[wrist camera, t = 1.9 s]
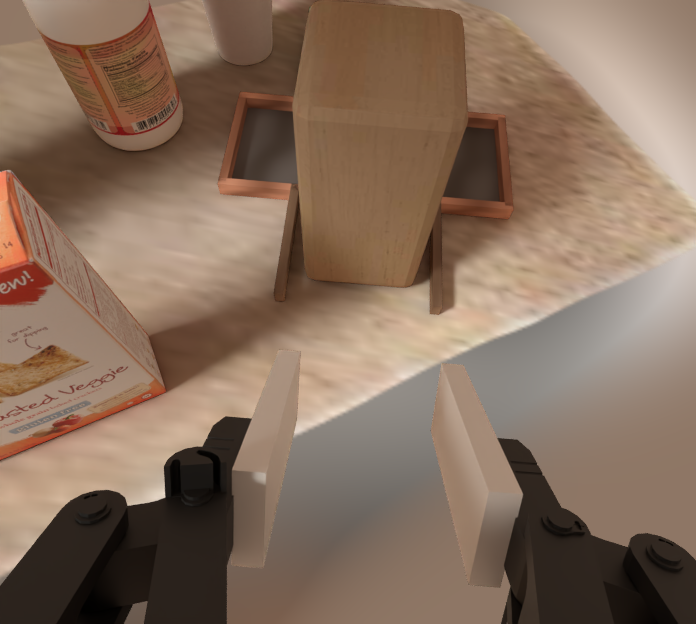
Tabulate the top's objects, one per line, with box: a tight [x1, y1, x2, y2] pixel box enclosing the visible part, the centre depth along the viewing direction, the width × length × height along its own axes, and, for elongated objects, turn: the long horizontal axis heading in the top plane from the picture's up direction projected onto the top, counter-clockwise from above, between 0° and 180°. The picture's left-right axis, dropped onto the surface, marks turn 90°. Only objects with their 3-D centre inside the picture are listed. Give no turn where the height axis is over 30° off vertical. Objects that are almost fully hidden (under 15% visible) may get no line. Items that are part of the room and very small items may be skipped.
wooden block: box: [292, 0, 468, 287], centre depth 37 cm, size 10×10×20 cm
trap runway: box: [218, 7, 513, 315], centre depth 50 cm, size 29×37×3 cm
